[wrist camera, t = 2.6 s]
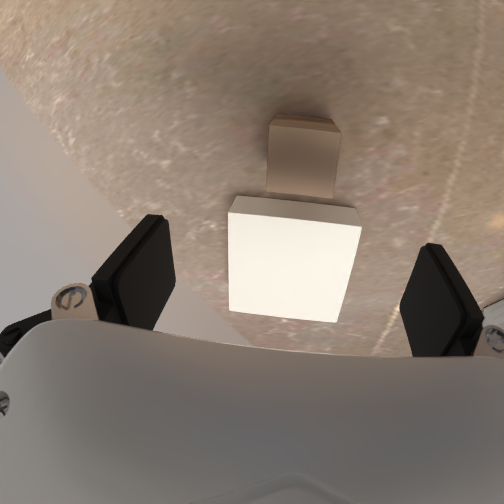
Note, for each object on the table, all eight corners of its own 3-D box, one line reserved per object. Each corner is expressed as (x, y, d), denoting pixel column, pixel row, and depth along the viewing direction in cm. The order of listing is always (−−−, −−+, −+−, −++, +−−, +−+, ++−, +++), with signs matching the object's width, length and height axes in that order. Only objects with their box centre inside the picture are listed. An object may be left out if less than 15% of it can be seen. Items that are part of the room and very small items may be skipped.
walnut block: (276, 113, 25) (269, 125, 20) (331, 119, 25) (341, 133, 19) (273, 164, 28) (265, 191, 22) (325, 170, 28) (332, 198, 22)
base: (236, 195, 30) (228, 212, 27) (355, 208, 29) (361, 227, 26) (236, 287, 37) (229, 310, 34) (334, 298, 36) (336, 322, 32)
